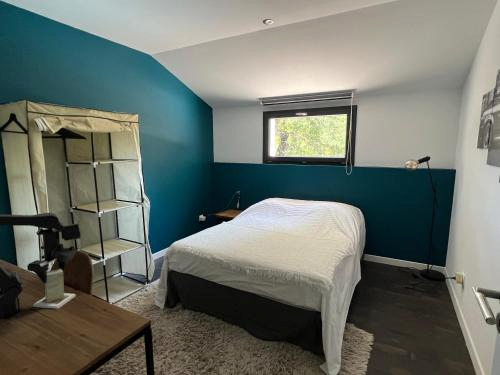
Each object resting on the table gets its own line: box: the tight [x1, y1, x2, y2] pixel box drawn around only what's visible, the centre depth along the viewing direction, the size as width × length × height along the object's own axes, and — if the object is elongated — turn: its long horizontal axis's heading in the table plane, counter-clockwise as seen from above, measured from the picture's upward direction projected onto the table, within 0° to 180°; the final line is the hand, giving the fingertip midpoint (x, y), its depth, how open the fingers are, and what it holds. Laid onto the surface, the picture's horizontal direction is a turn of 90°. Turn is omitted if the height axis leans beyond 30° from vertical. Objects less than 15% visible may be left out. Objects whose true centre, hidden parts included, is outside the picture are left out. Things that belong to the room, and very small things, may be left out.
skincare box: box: [44, 268, 65, 302], centre depth 116 cm, size 6×4×12 cm
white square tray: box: [33, 292, 76, 310], centre depth 117 cm, size 10×11×1 cm
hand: (54, 277), depth 116 cm, fingers open, 9 cm apart
